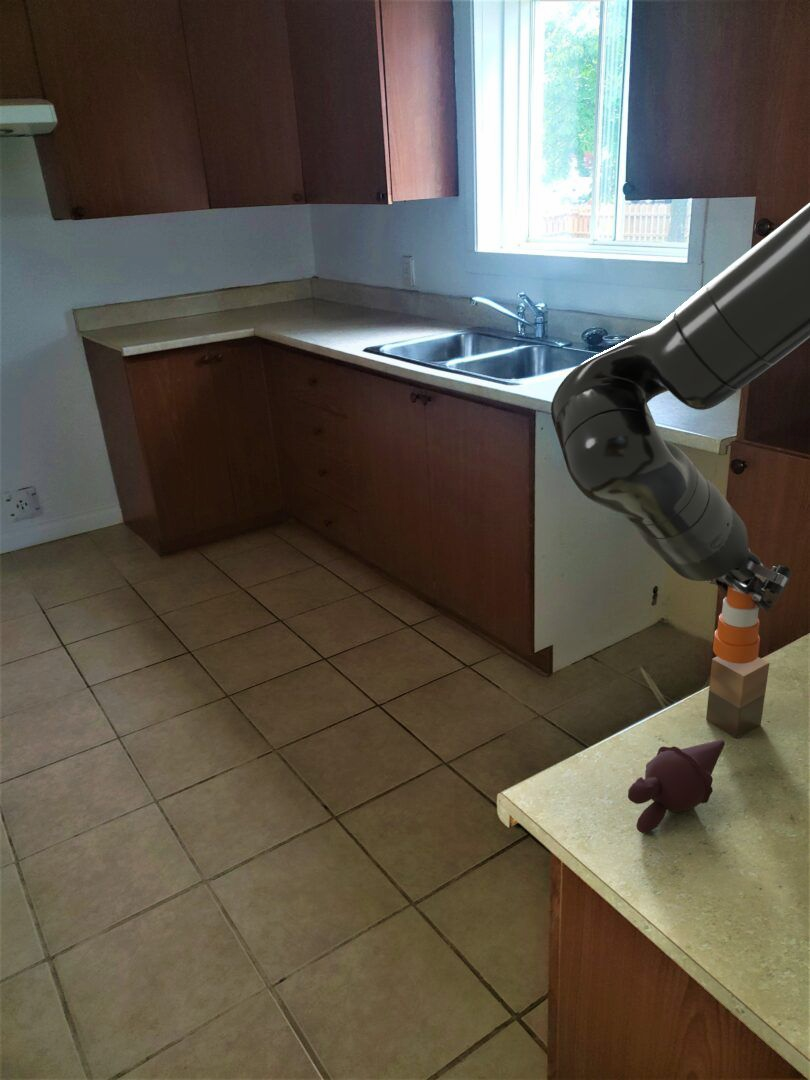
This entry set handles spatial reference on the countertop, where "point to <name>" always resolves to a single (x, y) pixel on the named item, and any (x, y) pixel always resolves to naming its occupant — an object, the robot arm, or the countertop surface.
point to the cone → (737, 629)
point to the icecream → (675, 781)
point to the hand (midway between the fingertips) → (752, 595)
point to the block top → (739, 680)
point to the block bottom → (734, 715)
